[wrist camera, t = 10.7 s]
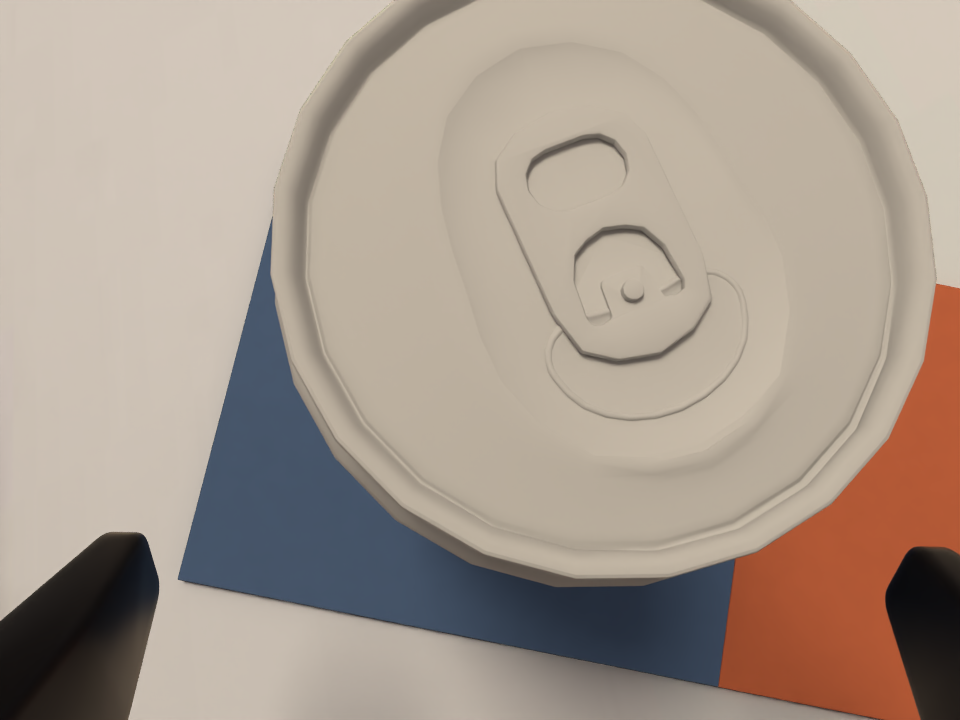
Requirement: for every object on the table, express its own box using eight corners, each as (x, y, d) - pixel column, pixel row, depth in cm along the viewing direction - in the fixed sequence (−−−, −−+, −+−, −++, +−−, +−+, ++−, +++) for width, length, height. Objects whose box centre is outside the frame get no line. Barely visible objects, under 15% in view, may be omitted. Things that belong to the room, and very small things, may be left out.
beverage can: (433, 558, 16) (410, 738, 4) (352, 356, 17) (145, 44, 5) (632, 471, 17) (1087, 426, 5) (546, 278, 17) (766, -165, 6)
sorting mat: (1245, 350, 18) (1253, 349, 18) (1238, 788, 16) (1248, 792, 16) (291, 153, 18) (289, 149, 18) (180, 578, 16) (176, 579, 16)
